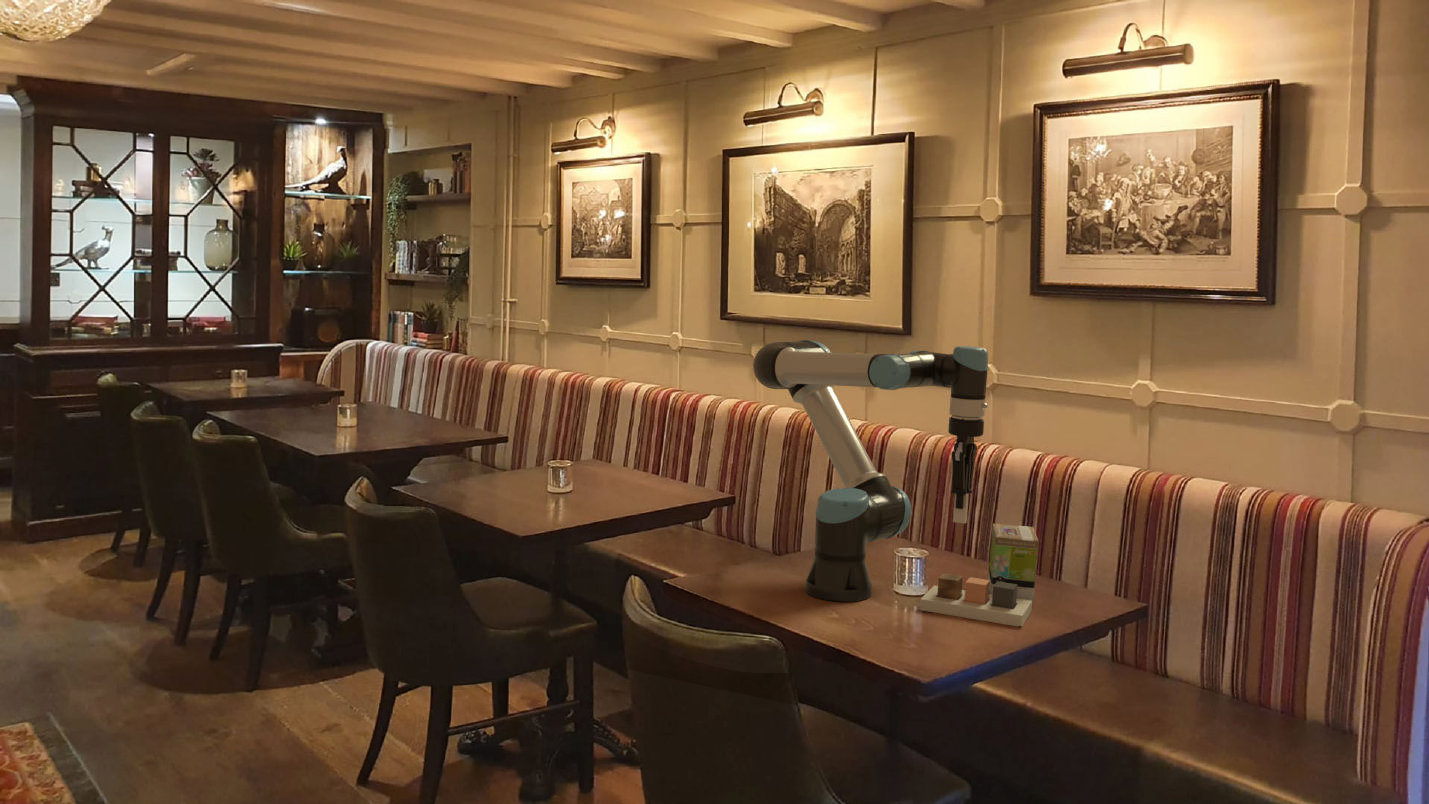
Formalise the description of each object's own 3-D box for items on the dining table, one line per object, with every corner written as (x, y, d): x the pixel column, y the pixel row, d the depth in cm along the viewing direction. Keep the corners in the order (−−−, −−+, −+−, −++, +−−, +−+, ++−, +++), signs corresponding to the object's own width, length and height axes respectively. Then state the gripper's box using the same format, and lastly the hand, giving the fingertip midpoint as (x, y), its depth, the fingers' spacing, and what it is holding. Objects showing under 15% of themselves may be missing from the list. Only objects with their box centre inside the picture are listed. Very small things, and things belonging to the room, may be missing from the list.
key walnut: (937, 599, 246) (938, 577, 246) (942, 594, 250) (943, 573, 249) (956, 602, 244) (958, 580, 244) (961, 597, 248) (962, 576, 248)
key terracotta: (964, 604, 244) (965, 582, 243) (968, 598, 248) (970, 577, 247) (984, 607, 242) (985, 585, 241) (988, 602, 246) (989, 580, 245)
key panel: (919, 610, 244) (920, 599, 244) (933, 595, 255) (934, 585, 255) (1021, 627, 235) (1022, 615, 235) (1031, 611, 246) (1032, 600, 245)
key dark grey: (991, 608, 241) (993, 586, 240) (995, 603, 245) (997, 581, 244) (1012, 612, 239) (1013, 589, 239) (1015, 606, 243) (1017, 584, 243)
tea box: (1034, 603, 252) (1039, 540, 250) (989, 599, 254) (993, 536, 252) (1029, 585, 267) (1034, 525, 265) (987, 581, 269) (991, 521, 267)
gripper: (976, 422, 236) (969, 530, 239) (990, 415, 247) (983, 518, 250) (941, 418, 239) (935, 525, 242) (957, 412, 250) (950, 514, 254)
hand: (959, 522), depth 246 cm, fingers closed
